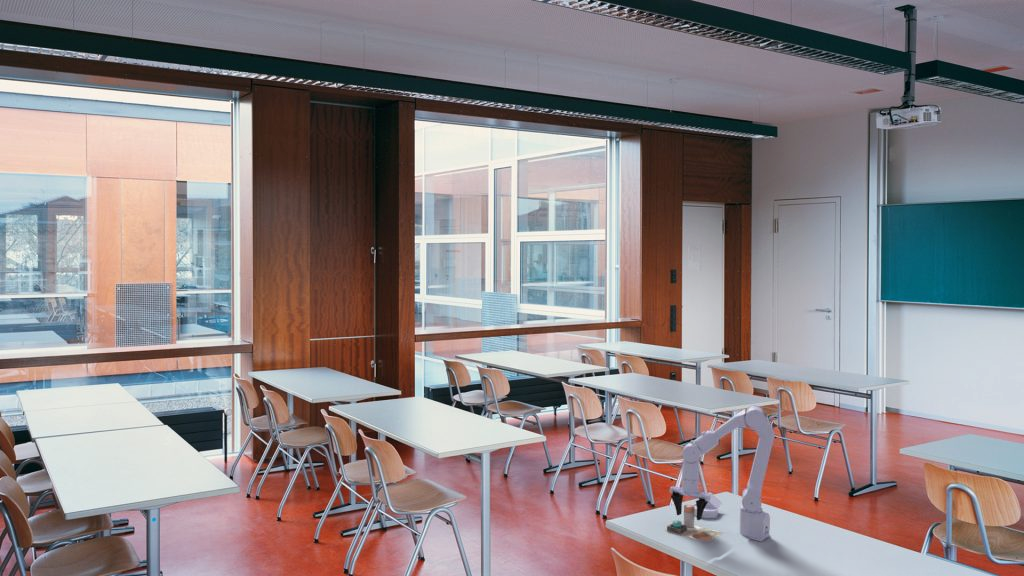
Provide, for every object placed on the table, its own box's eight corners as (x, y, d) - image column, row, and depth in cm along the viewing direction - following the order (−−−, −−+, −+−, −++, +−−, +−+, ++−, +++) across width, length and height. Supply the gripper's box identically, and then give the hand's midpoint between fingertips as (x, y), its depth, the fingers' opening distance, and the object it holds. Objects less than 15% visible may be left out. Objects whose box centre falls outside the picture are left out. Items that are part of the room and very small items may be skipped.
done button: (683, 527, 274) (683, 521, 274) (678, 529, 271) (679, 524, 271) (675, 525, 276) (675, 519, 276) (671, 527, 273) (671, 522, 273)
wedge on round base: (697, 507, 301) (689, 517, 290) (698, 490, 301) (690, 499, 289) (721, 511, 298) (714, 521, 286) (722, 493, 297) (715, 503, 286)
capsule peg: (695, 525, 279) (696, 506, 278) (691, 528, 276) (691, 508, 275) (686, 523, 281) (687, 504, 280) (681, 526, 278) (682, 506, 278)
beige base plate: (727, 534, 273) (727, 528, 272) (709, 546, 262) (710, 539, 262) (679, 522, 284) (679, 516, 284) (660, 532, 273) (661, 526, 273)
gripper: (666, 476, 279) (664, 514, 280) (704, 485, 270) (703, 524, 271) (675, 472, 284) (674, 510, 285) (713, 480, 275) (712, 519, 276)
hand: (688, 516), depth 278 cm, fingers open, 7 cm apart
